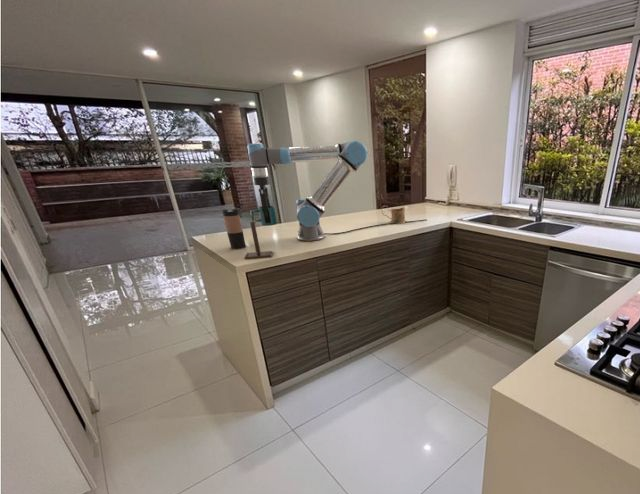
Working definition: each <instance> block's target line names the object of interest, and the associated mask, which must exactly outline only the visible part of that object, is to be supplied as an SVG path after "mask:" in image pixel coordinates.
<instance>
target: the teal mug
mask: <svg viewBox="0 0 640 494" xmlns="http://www.w3.org/2000/svg"><path fill="white" fill-rule="evenodd" d="M275 207H276V206H274V205H271V206H268V210H269V214H270V219H271V223H265V218H264V213H263V211H262V210H261V209H262V206H258V207H257V208H258V209H250V217H251V222H252V221H254V219H255V214H254V213H258V216H259V218H258V219H257V218H256V219H257V221H256V223H259V222H260V225H261V226H265V227H266V226H267V227H268V226H275V225H277V224H278V218H277V213H276V208H275Z"/></svg>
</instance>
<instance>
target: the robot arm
mask: <svg viewBox="0 0 640 494" xmlns="http://www.w3.org/2000/svg"><path fill="white" fill-rule="evenodd" d="M247 155H248V159H249V164H250V172H251V173H252V177H253V178H252V181H253V185H254V186H259V188H258V192H259V196H260V202H261V207H262V209H261V210H262V211H263V213H264V218H265V223H271V219H270V214H269V210H268V206H272V205H271V203H270V198H269V190H268V187H267V186H269V185H270V184H271V181H270V177H269V169H268V165H289V164H291V163H307V162H308V163H309V162H331V161H332V162H333V161H337V162H336V163H335V165H334V166H333V168H332V169H331V170H330V172H329V173H328V174H327V175H326V177H325V178H324V179H323V181H322V182H321V184H319V186H318V187H317V189H316V190H315V191H314V193H313V194H312V195H311V196H307V197H306V198H305V199H304V198H303V199H297V200H295V206H296V215H295V216H296V219H297V221H298V226H299V228H298V230H297V240H298V241H302V242H316V241H320V240H323V239H324V238H325V236H327V235H328V236H329V235H330V236H333V235H341V234H347V233H350V232H351V233H352V232H354V231H358V230H359V231H360V230H364V229H368V228H374V227H380V226H387V225H397V224H396V223H380V224H375V225H370V226H369V225H368V226H364V227H360V228H355V229H351V230H346V231H342V232H332V233H331V232H324V230H323V229H322V227H321V224H320V219H321V217H322V216H323V214H324V213H325V212H326V206H327V205H328V204H329V202H330V201H331V199H332V198H333V197H334V196H335V194H336V193H337V192H338V190H339V189H340V188H341V186H343V184H344V183H345V182H346V180H347V179H348V177H349V176H351V174H352V173H356V172H357V170H359V168H360V167H361V165H363V164H364V163H366V161H367V159H368V149H367V147H366V145H365V144H364V143H363V142H361V141H360V140H350V141H347V142H342V143H336V145H322V146H321V145H320V146H319V145H318V146H295V147H294V146H293V147H291V146H290V147H265V146H264V144H263V143H248V144H247ZM424 221H425V222H426V221H428V220H427V218H425V219H419V220H418V219H417V220H409V221H406V222H405V223H404V224H407V223H416V222H424Z"/></svg>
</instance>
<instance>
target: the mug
mask: <svg viewBox="0 0 640 494" xmlns="http://www.w3.org/2000/svg"><path fill="white" fill-rule="evenodd" d="M384 207H385V208H387V211H389V212H390V213H391V215H390V216H391V217H389V216H388V215H387V214H384V213H383V208H384ZM380 209H381V214H382V216H384V217H387V218H388V219H389V220H390V219H391V220H390V223H396V224H395V225H402V224H406V223H405V222H407V221H406V219H405V218H406V214H405V213H406V211H405V207H399V208H391V209H389V206H388V205H383V206H382V208H380Z"/></svg>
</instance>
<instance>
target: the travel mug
mask: <svg viewBox="0 0 640 494" xmlns="http://www.w3.org/2000/svg"><path fill="white" fill-rule="evenodd" d="M239 212H240V211H239V209H236V208H235V209H231V210H228V209H224V210H222V217H223V221H224V225H225V230H226V233H227V238H228V241H229V244H230V248H231V249H233V250H240V249H244V248H246V241H245V236H244V235H245V234H244V230H243V226H242V222H241V217H240V213H239Z"/></svg>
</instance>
